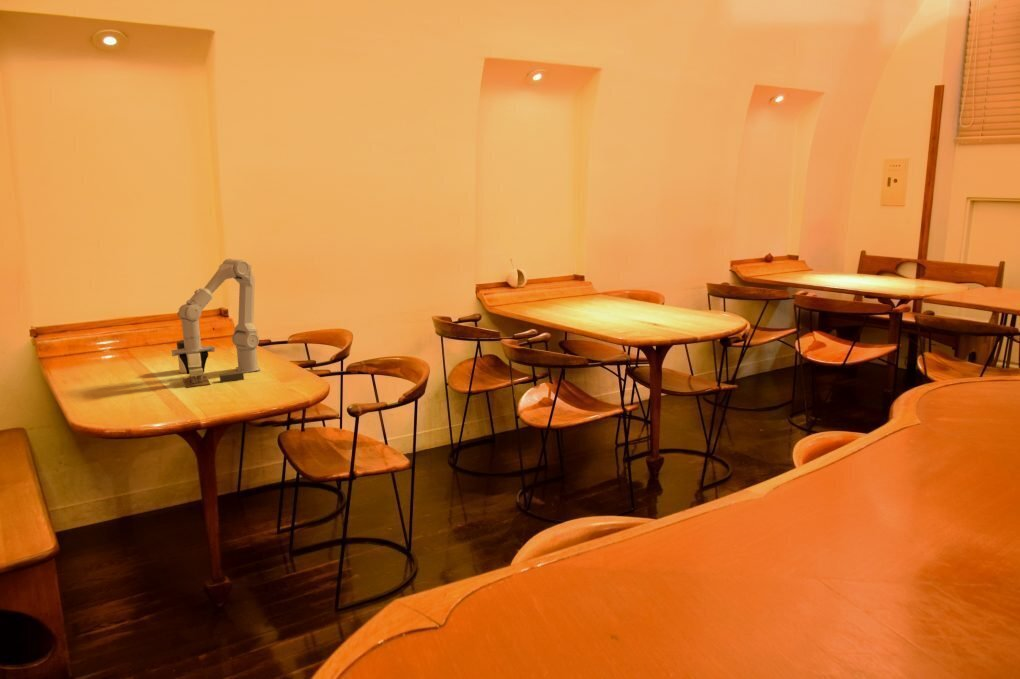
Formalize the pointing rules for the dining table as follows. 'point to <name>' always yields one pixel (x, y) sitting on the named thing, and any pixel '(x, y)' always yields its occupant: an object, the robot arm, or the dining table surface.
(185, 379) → the peg base
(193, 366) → the shelf board
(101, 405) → the dining table surface
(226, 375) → the block
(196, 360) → the jar
